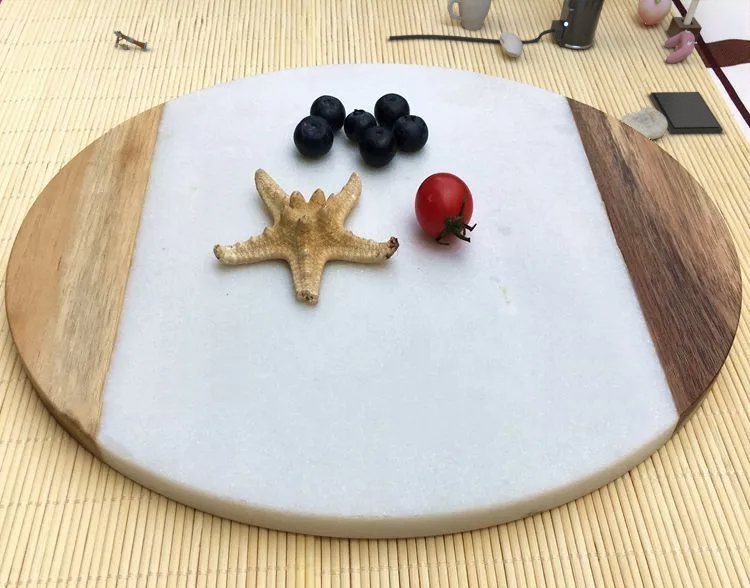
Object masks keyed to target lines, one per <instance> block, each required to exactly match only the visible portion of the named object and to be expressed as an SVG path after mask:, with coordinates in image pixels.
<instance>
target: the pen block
mask: <svg viewBox="0 0 750 588" xmlns="http://www.w3.org/2000/svg"><path fill="white" fill-rule="evenodd" d="M685 17H686V16H672V17H671V20H670V22H669V26H668V29H667V31H666V32H667V34H668V35H669V37H670V38H671V37H673V36H675V35H677V34H679V33H681V32H682V31H685V30H687V31H690V32H691V33H692V34H693V35H694V37H695V42H694V44H695V43H697V41H698V38H699V36H700V34H701V31H702V28H703V27H702V25H701V24H700V23H699V21H698V20H697V19H696V17H695V16H693V18H692V21H691V23H690V25H684V24H683V22H684V20H685Z"/></svg>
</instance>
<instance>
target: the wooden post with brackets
mask: <svg viewBox="0 0 750 588" xmlns="http://www.w3.org/2000/svg"><path fill="white" fill-rule="evenodd" d="M113 34H114V35H115V36H116V40H115V43H114V48H116V49H117V48H118V47H119V46H120V48H121V49H124V50H126V51H128V50H131V49H130V46H129V45H128V44H125V43H124V42H123V43H120V42H121V41H122V40H125V41H126V42H127V43H130V44H132V45H136V46H137V47H139V48H141V49H142V51H143V52H146V50H147V46H148V41H145V42H142V41H139V40H136V39H135V38H133V37H131V36H129V35H126V34H124V33H123V32H122V31H121V30H114V31H113Z"/></svg>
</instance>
